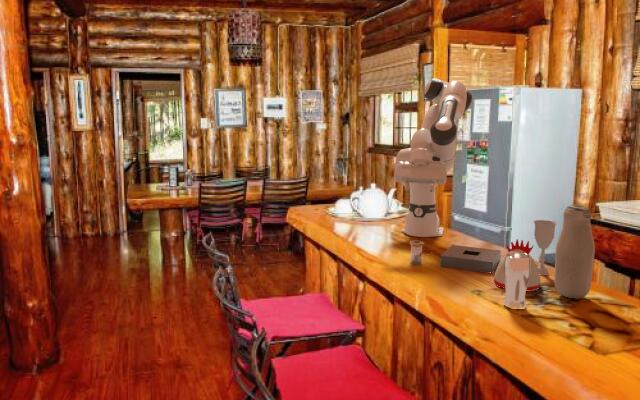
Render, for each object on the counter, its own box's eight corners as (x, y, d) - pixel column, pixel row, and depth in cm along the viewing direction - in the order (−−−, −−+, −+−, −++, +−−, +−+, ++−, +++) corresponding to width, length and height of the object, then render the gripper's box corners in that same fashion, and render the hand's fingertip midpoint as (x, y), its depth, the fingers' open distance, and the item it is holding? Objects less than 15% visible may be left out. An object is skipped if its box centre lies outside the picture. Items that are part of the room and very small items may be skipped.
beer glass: (497, 302, 154) (500, 252, 152) (520, 301, 155) (524, 251, 152) (508, 311, 147) (511, 258, 145) (532, 310, 148) (535, 258, 146)
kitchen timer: (535, 295, 161) (538, 247, 159) (489, 287, 168) (491, 241, 166) (543, 283, 173) (546, 238, 170) (500, 276, 180) (502, 232, 178)
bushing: (411, 260, 198) (412, 239, 197) (424, 262, 196) (425, 241, 194) (407, 264, 194) (407, 242, 192) (420, 265, 191) (421, 244, 190)
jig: (452, 254, 206) (452, 244, 206) (500, 260, 198) (501, 250, 198) (440, 266, 191) (440, 255, 190) (492, 273, 182) (493, 262, 182)
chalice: (552, 271, 185) (556, 221, 182) (553, 277, 178) (557, 224, 176) (529, 269, 187) (533, 219, 184) (530, 275, 181) (534, 223, 178)
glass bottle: (594, 297, 159) (602, 205, 155) (583, 305, 152) (591, 209, 148) (559, 289, 166) (567, 201, 162) (547, 297, 159) (554, 205, 154)
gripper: (394, 156, 211) (391, 183, 203) (447, 158, 207) (446, 186, 199) (394, 167, 216) (392, 193, 208) (445, 169, 212) (445, 196, 204)
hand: (419, 190), depth 204 cm, fingers open, 8 cm apart
